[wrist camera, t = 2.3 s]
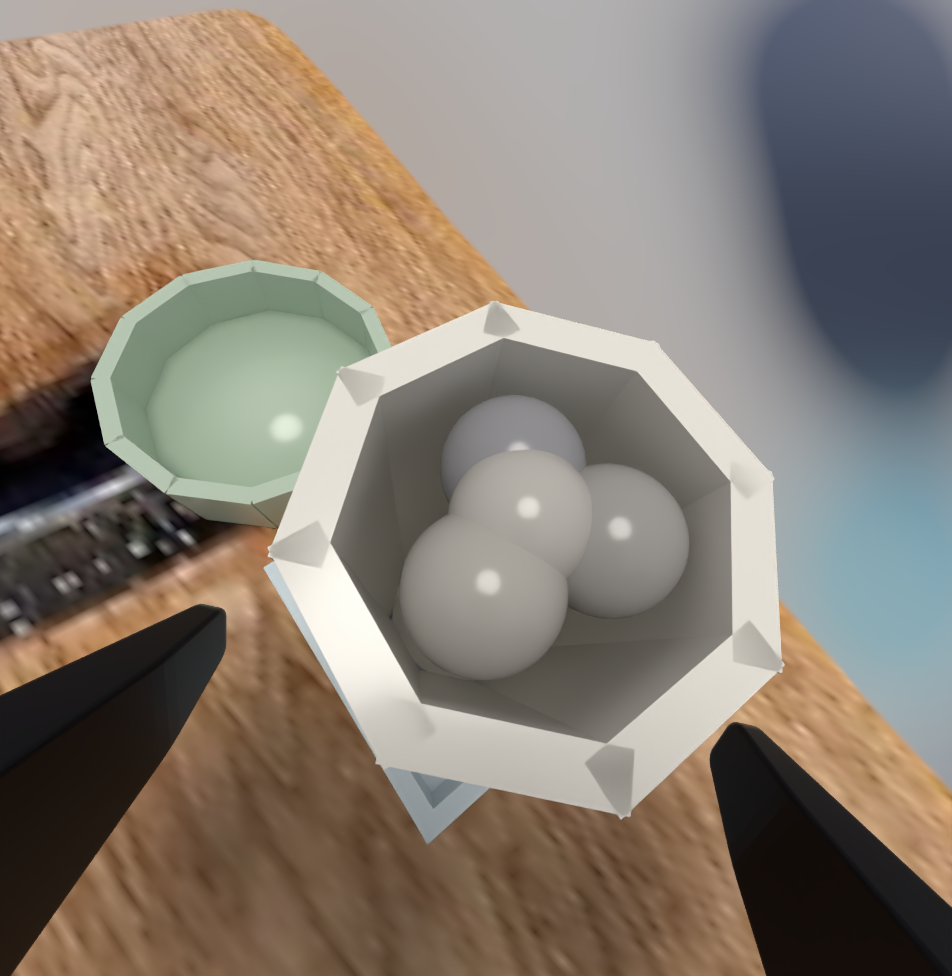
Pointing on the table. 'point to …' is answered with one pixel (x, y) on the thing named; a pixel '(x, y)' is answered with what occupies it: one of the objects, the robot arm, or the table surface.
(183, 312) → the bowl
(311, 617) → the pebble cup
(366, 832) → the table surface
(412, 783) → the parts tray
